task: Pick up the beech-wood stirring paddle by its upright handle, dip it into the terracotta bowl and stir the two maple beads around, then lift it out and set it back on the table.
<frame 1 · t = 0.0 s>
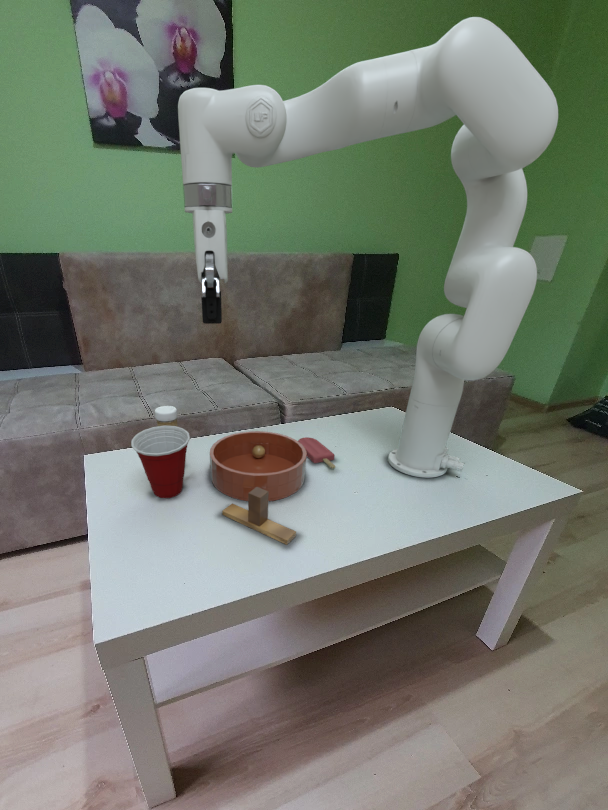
hand: (212, 318, 69), 31 cm above the table, tool pointing down, fingers open, 9 cm apart
sprinkles bottle: (171, 466, 87), on the table
popsicle: (317, 456, 91), on the table
stirrer: (257, 525, 69), on the table
bead b: (256, 485, 76), point 2 cm above the table, touching bowl
bowl: (257, 475, 83), on the table
plastic cup: (167, 492, 78), on the table
bead a: (258, 451, 88), point 2 cm above the table, touching bowl
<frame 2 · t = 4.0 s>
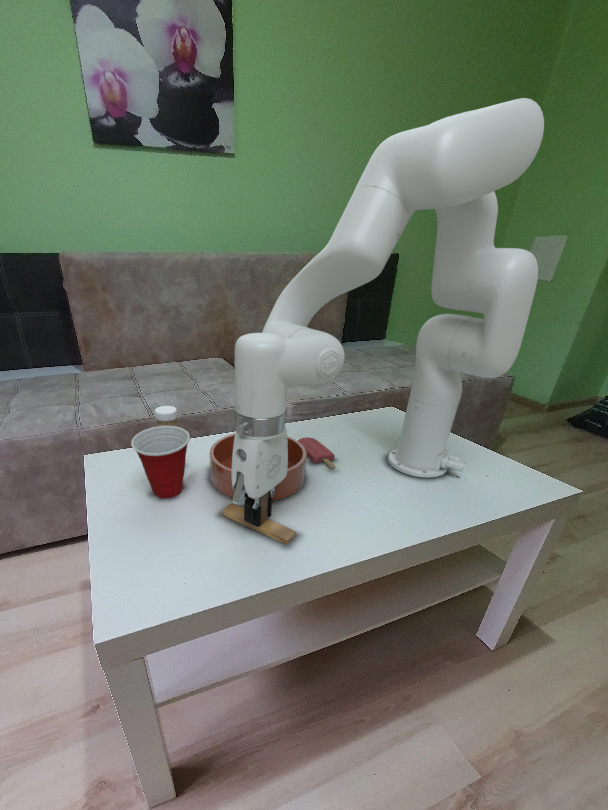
hand: (257, 517, 68), 2 cm above the table, tool pointing down, fingers closed on stirrer, 2 cm apart
stirrer: (257, 525, 69), on the table, touching gripper
everything else where it was.
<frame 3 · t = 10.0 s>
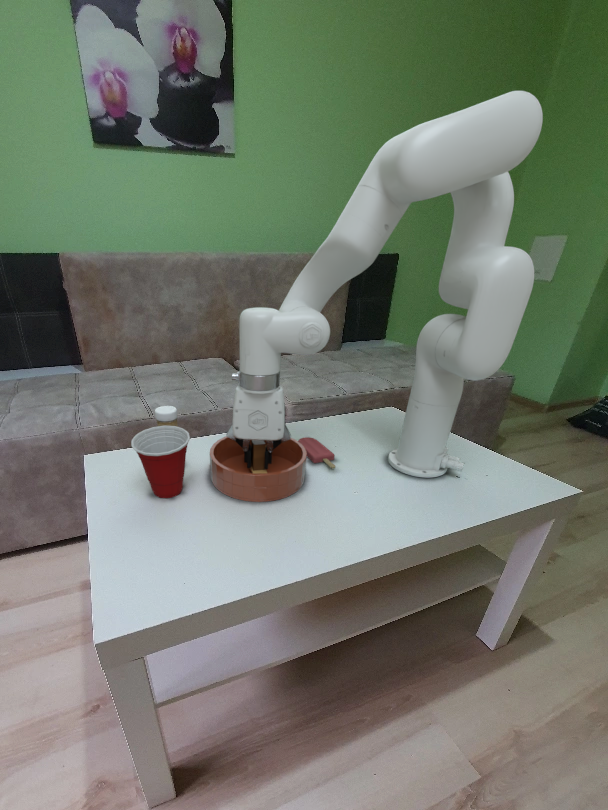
hand: (257, 465, 82), 3 cm above the table, tool pointing down, fingers closed on stirrer, 3 cm apart
stirrer: (257, 471, 83), point 1 cm above the table, touching bead a, bead b, gripper
bead b: (250, 486, 76), point 2 cm above the table, tilted 37°, touching bowl, stirrer
bead a: (264, 451, 89), point 2 cm above the table, tilted 39°, touching bowl, stirrer
everything else where it was.
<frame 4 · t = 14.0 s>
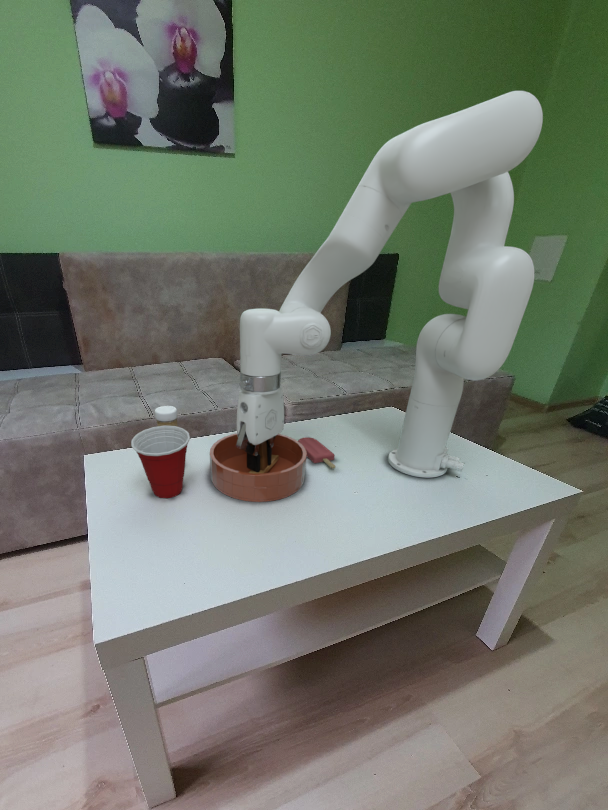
hand: (259, 465, 82), 3 cm above the table, tool pointing down, fingers closed on stirrer, 3 cm apart
stirrer: (260, 471, 82), point 1 cm above the table, tilted 7°, touching bead a, gripper
bead b: (263, 485, 76), point 2 cm above the table, tilted 60°, touching bowl
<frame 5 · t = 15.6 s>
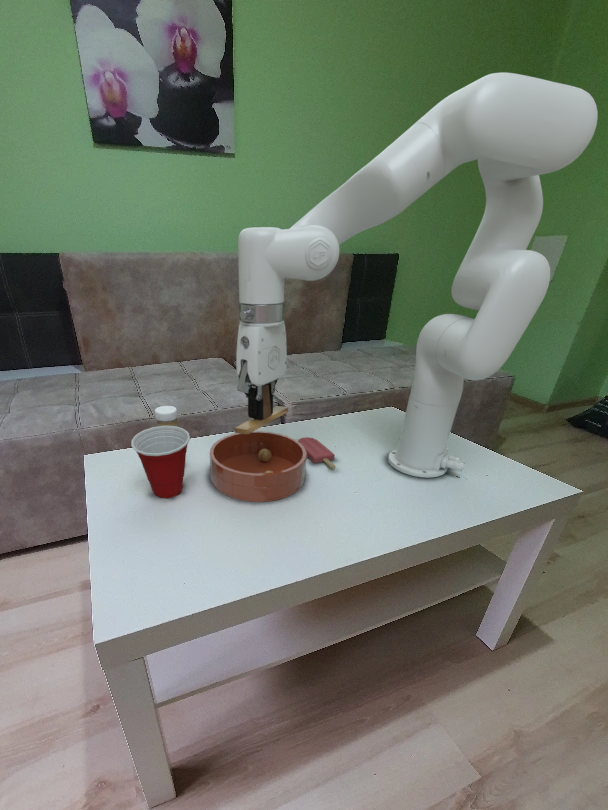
hand: (260, 414, 75), 14 cm above the table, tool pointing down, fingers closed on stirrer, 2 cm apart
stirrer: (263, 421, 75), point 13 cm above the table, tilted 8°, touching gripper
bead b: (269, 478, 78), point 2 cm above the table, tilted 113°, touching bowl
bead a: (264, 455, 87), point 2 cm above the table, tilted 83°, touching bowl
everything else where it was.
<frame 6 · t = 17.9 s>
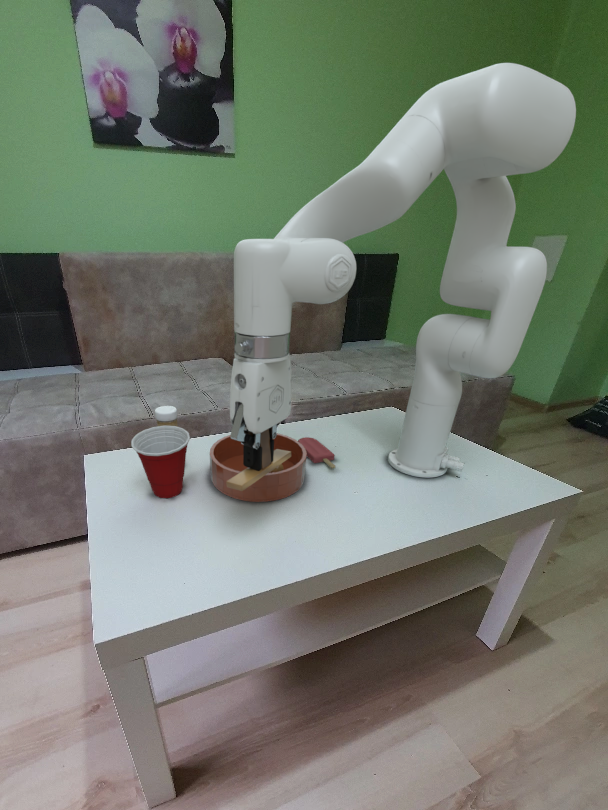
hand: (258, 463, 62), 13 cm above the table, tool pointing down, fingers closed on stirrer, 2 cm apart
stirrer: (261, 471, 62), point 11 cm above the table, tilted 7°, touching gripper
bead b: (276, 468, 82), point 2 cm above the table, tilted 81°, touching bowl
bead a: (270, 462, 84), point 2 cm above the table, tilted 140°, touching bowl
everything else where it was.
when the fingers open (1 cm above the table, at t = 20.6 s): stirrer stays where it is, on the table.
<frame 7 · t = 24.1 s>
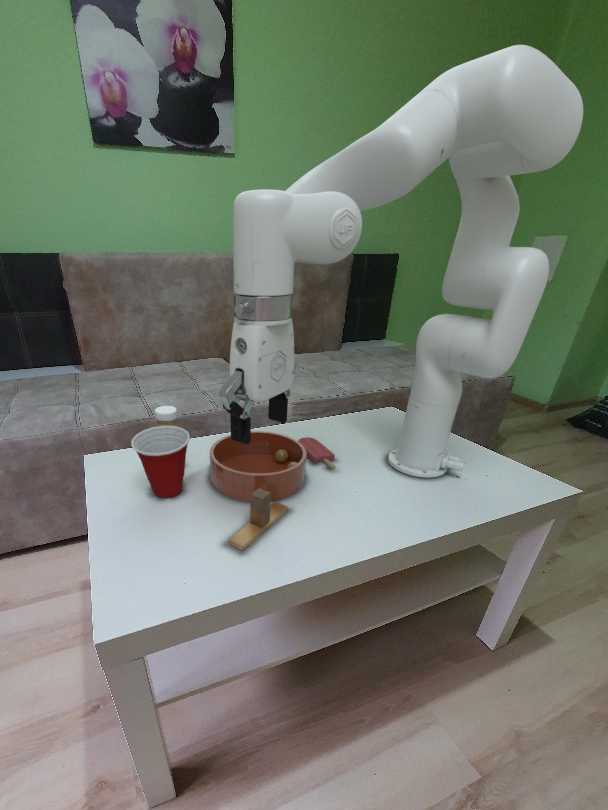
hand: (260, 430, 59), 18 cm above the table, tool pointing down, fingers open, 9 cm apart
stirrer: (259, 526, 68), on the table
bead b: (293, 468, 82), point 2 cm above the table, tilted 122°, touching bowl
bead a: (281, 455, 87), point 2 cm above the table, tilted 67°, touching bowl
everything else where it was.
at the end: bead a moved 5.5 cm from its start; stirrer inside the target area (0.5 cm from its centre), on the table; the gripper is holding nothing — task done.
